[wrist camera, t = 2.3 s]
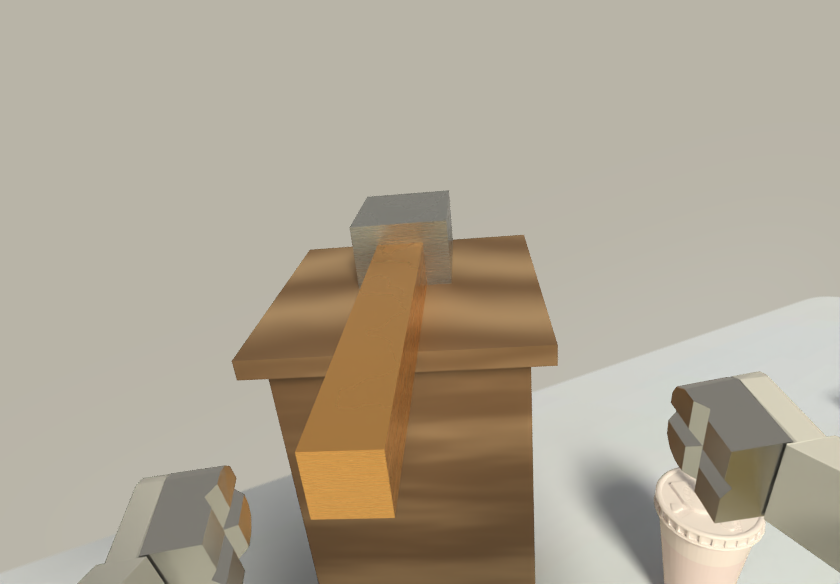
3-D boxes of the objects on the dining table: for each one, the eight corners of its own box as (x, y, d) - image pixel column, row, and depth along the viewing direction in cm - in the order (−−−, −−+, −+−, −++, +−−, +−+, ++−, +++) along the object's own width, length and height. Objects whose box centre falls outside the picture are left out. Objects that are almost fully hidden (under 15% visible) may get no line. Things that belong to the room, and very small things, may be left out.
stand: (556, 720, 34) (557, 344, 23) (328, 717, 35) (231, 361, 25) (530, 533, 47) (523, 234, 36) (363, 536, 48) (309, 249, 37)
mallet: (441, 516, 16) (430, 412, 14) (266, 520, 16) (238, 420, 15) (453, 245, 35) (448, 190, 34) (374, 250, 36) (367, 196, 35)
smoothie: (662, 550, 44) (678, 401, 38) (755, 592, 40) (789, 434, 34) (631, 612, 40) (644, 455, 34) (732, 667, 36) (766, 500, 30)
